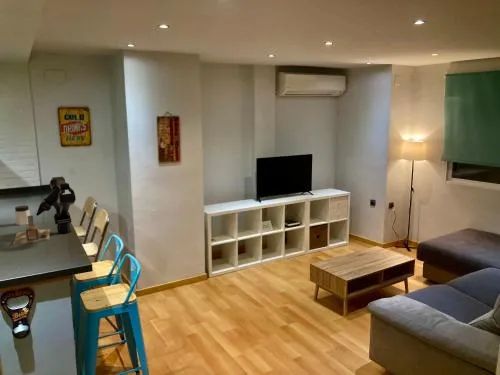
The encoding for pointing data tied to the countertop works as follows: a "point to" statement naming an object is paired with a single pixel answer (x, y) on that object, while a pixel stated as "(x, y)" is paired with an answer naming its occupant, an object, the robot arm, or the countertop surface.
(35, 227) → the tunnel
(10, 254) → the countertop surface
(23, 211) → the jar
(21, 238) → the board
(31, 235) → the knobbed beige slab
